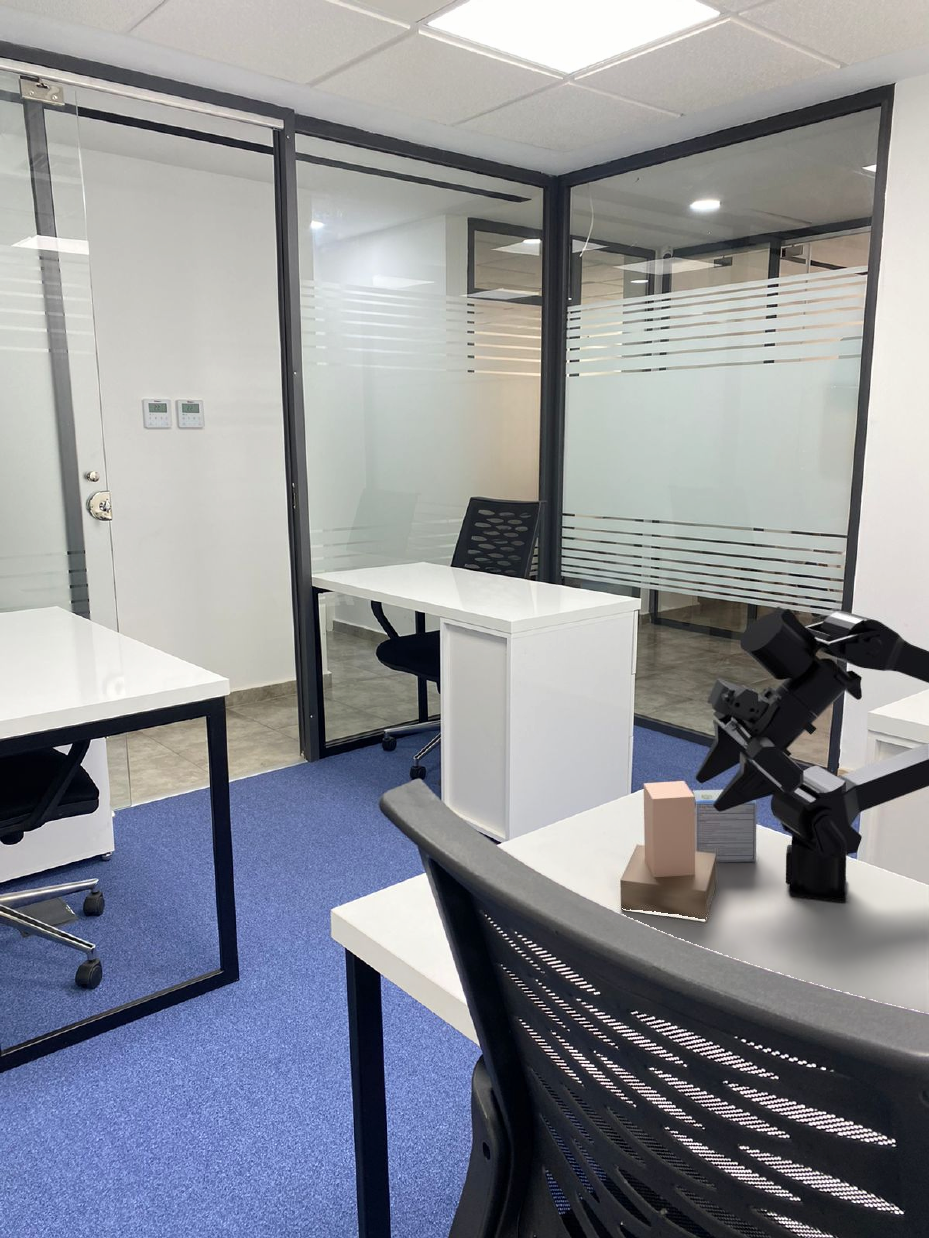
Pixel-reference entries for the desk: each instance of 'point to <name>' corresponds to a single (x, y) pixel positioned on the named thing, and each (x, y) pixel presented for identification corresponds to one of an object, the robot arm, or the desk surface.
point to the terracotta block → (669, 828)
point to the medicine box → (725, 828)
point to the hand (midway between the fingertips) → (706, 794)
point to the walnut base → (669, 887)
